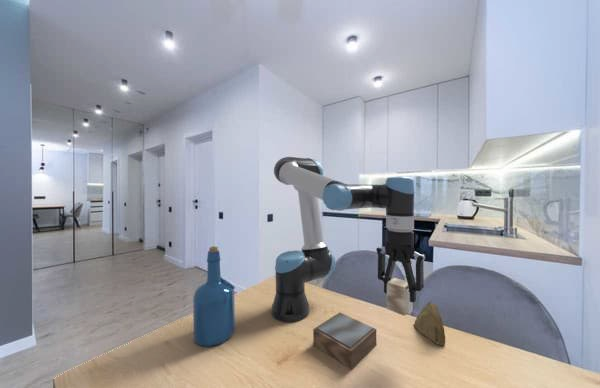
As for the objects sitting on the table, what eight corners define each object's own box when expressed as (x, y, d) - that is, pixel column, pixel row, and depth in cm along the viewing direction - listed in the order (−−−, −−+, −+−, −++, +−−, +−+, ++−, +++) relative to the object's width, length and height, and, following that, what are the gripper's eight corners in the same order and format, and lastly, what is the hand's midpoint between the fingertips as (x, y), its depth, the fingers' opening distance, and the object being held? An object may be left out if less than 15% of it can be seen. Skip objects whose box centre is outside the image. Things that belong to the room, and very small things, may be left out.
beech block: (387, 309, 67) (387, 282, 66) (394, 303, 70) (394, 277, 70) (404, 315, 63) (404, 287, 63) (411, 309, 66) (411, 282, 66)
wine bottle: (199, 354, 67) (198, 254, 67) (188, 333, 78) (187, 246, 77) (242, 335, 76) (241, 247, 76) (227, 319, 86) (226, 240, 86)
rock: (456, 342, 68) (448, 320, 77) (437, 318, 69) (431, 299, 78) (424, 354, 72) (420, 332, 81) (406, 331, 73) (404, 312, 82)
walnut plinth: (313, 344, 71) (313, 328, 71) (339, 326, 81) (339, 311, 81) (351, 369, 61) (351, 350, 61) (376, 344, 71) (376, 328, 71)
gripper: (365, 227, 70) (365, 301, 70) (429, 236, 57) (429, 326, 57) (376, 224, 75) (376, 294, 76) (438, 232, 62) (437, 315, 63)
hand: (399, 308), depth 67 cm, fingers closed on beech block, 5 cm apart
